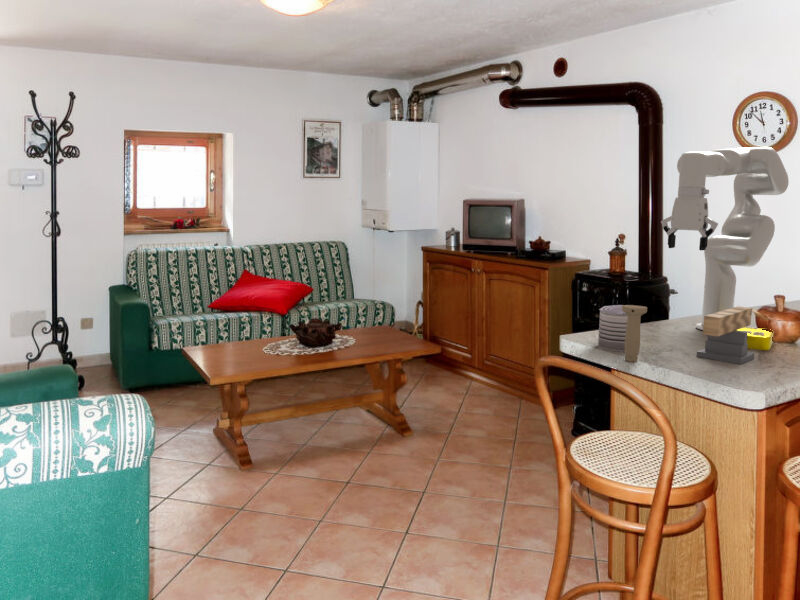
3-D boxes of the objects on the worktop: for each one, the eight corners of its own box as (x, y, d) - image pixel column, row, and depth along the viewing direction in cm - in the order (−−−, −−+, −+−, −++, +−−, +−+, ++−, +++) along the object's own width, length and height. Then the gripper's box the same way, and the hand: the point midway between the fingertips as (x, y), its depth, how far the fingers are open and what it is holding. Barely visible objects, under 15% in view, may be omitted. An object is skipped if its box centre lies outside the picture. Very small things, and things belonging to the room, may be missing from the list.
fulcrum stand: (710, 351, 208) (712, 324, 207) (754, 358, 200) (756, 330, 199) (696, 356, 201) (698, 328, 200) (740, 364, 193) (743, 335, 192)
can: (645, 351, 207) (648, 310, 205) (609, 352, 205) (611, 311, 203) (625, 342, 218) (627, 304, 216) (590, 343, 216) (593, 304, 214)
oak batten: (736, 323, 209) (737, 306, 208) (750, 325, 206) (752, 308, 206) (702, 334, 192) (704, 315, 192) (717, 336, 190) (719, 317, 189)
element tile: (772, 343, 223) (774, 328, 222) (769, 352, 210) (770, 336, 209) (720, 337, 230) (721, 322, 230) (714, 345, 218) (715, 330, 217)
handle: (641, 364, 191) (645, 309, 189) (617, 361, 194) (620, 306, 192) (645, 360, 195) (648, 306, 193) (621, 357, 198) (624, 304, 196)
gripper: (724, 193, 215) (719, 250, 218) (669, 192, 227) (665, 246, 230) (714, 193, 210) (710, 251, 213) (658, 192, 222) (654, 247, 225)
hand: (686, 248), depth 221 cm, fingers open, 9 cm apart
